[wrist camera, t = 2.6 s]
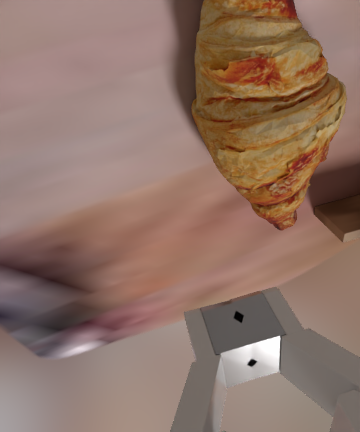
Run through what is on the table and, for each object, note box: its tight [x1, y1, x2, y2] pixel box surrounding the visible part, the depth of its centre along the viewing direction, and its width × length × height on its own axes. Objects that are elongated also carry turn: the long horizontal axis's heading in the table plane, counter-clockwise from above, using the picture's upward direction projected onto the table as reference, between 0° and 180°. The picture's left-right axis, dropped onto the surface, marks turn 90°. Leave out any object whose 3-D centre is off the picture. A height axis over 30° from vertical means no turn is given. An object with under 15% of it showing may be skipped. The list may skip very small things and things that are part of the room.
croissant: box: [191, 0, 347, 230], centre depth 22 cm, size 21×10×8 cm, turn 19°
